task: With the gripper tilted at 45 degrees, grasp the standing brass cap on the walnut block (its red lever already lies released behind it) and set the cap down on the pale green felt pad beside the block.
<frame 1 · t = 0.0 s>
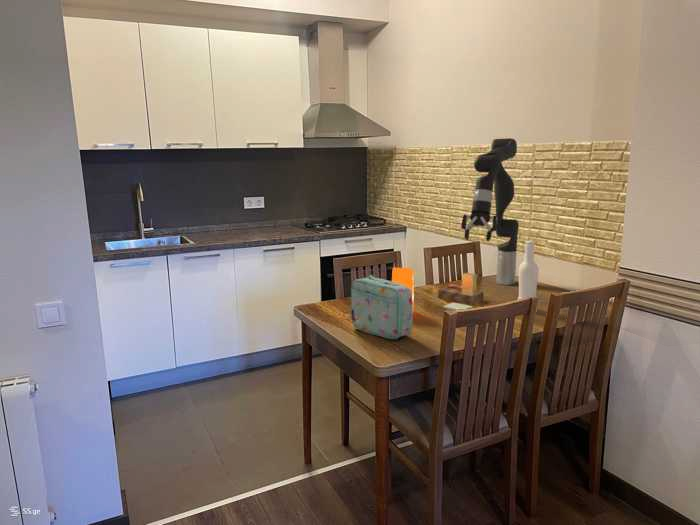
hand: (477, 240, 205), 31 cm above the table, tool tilted 20°, fingers open, 8 cm apart
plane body: (460, 299, 233), on the table
pad: (457, 307, 220), on the table
bottle: (526, 310, 215), on the table
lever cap: (468, 294, 225), point 4 cm above the table, touching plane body
orange juice: (402, 313, 214), on the table
lunch box: (379, 332, 191), on the table
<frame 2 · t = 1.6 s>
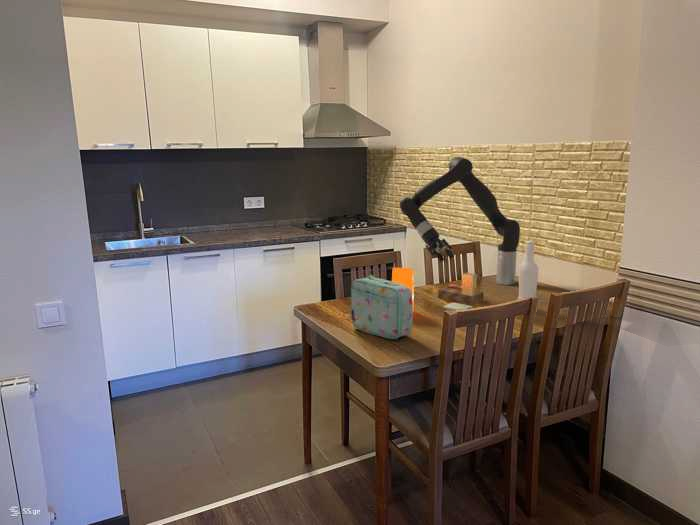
hand: (447, 259, 230), 19 cm above the table, tool tilted 45°, fingers open, 8 cm apart
nothing on the table moved.
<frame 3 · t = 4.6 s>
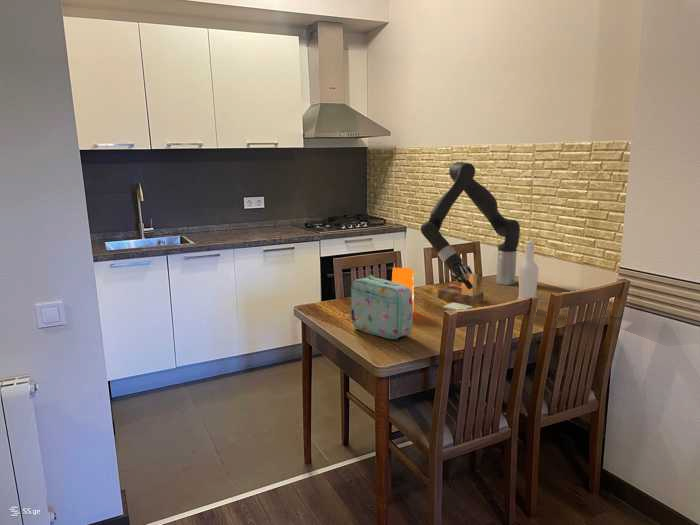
hand: (473, 287, 223), 8 cm above the table, tool tilted 45°, fingers closed on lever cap, 3 cm apart
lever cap: (468, 294, 225), point 4 cm above the table, touching gripper, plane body
everything else where it was.
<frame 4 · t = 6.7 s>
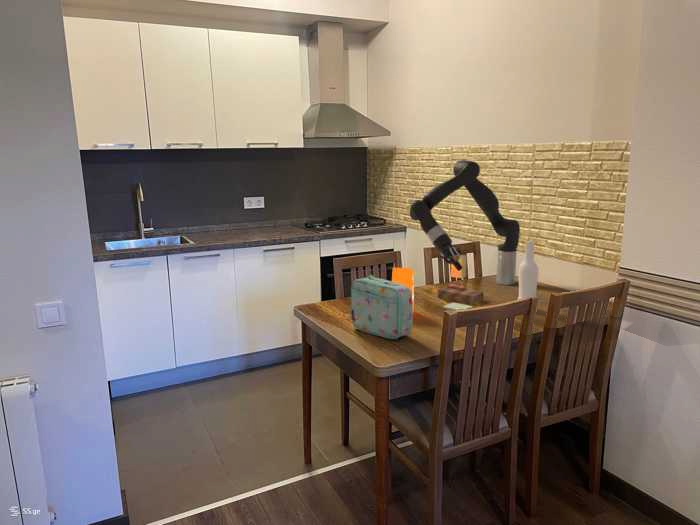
hand: (462, 268, 215), 18 cm above the table, tool tilted 45°, fingers closed on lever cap, 3 cm apart
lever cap: (458, 276, 217), point 14 cm above the table, touching gripper
everything else where it was.
when the fingers open (5 cm above the table, at t = 9.2 s): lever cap stays where it is, resting on pad.
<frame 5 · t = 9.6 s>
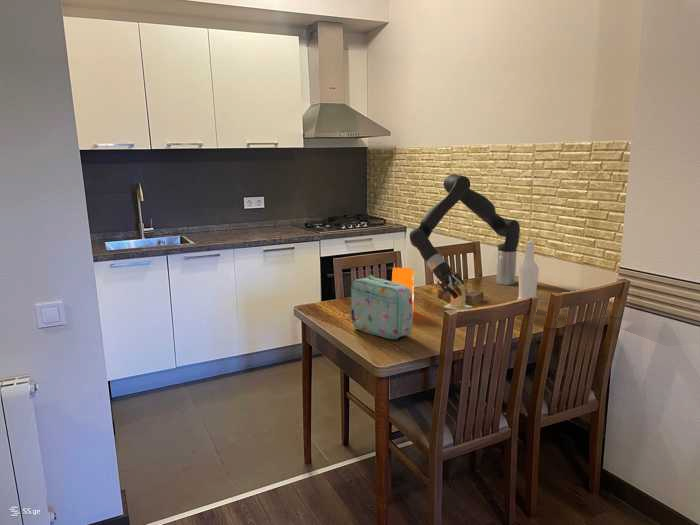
hand: (461, 295, 217), 6 cm above the table, tool tilted 45°, fingers open, 7 cm apart
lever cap: (457, 306, 220), point 1 cm above the table, touching pad
everything else where it was.
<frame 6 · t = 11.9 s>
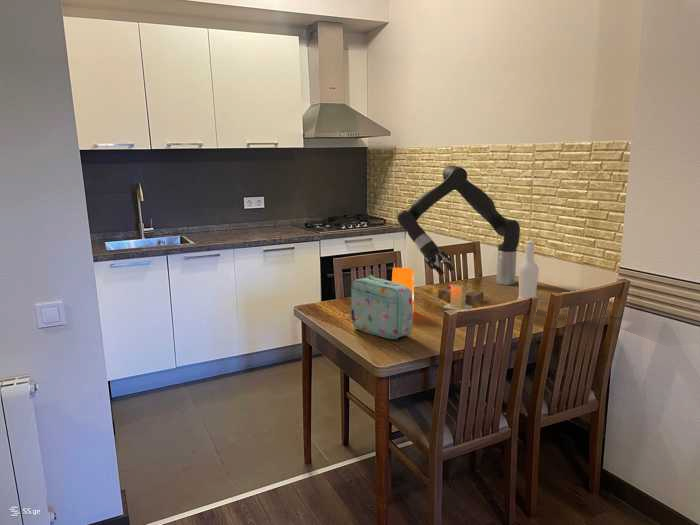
hand: (447, 272, 227), 14 cm above the table, tool tilted 45°, fingers open, 8 cm apart
nothing on the table moved.
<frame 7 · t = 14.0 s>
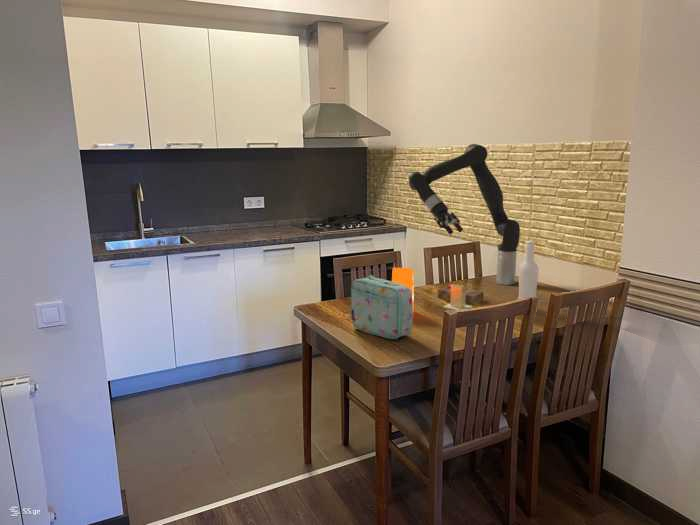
hand: (456, 232, 232), 31 cm above the table, tool tilted 45°, fingers open, 8 cm apart
nothing on the table moved.
at the end: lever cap 0.1 cm from the pad (horizontally); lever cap point 0.6 cm above the table; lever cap tilted 0° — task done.
